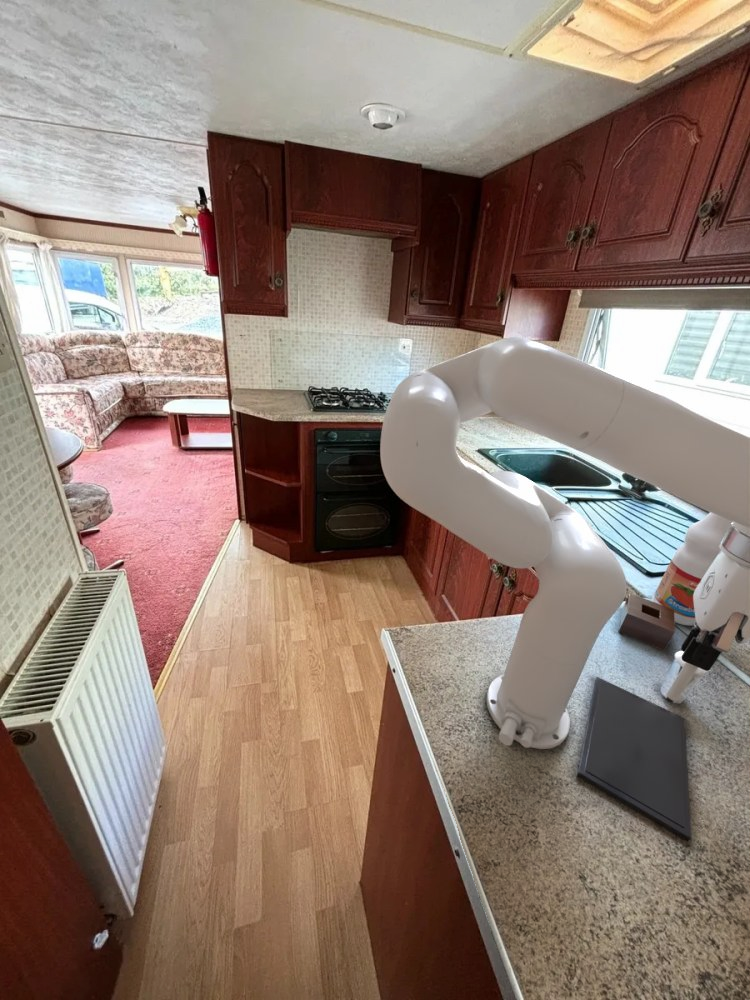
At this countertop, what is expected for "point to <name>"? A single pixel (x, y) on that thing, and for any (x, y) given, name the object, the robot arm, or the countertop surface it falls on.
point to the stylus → (682, 680)
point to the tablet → (637, 756)
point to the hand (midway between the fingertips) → (694, 658)
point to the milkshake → (673, 673)
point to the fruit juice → (691, 566)
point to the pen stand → (647, 621)
